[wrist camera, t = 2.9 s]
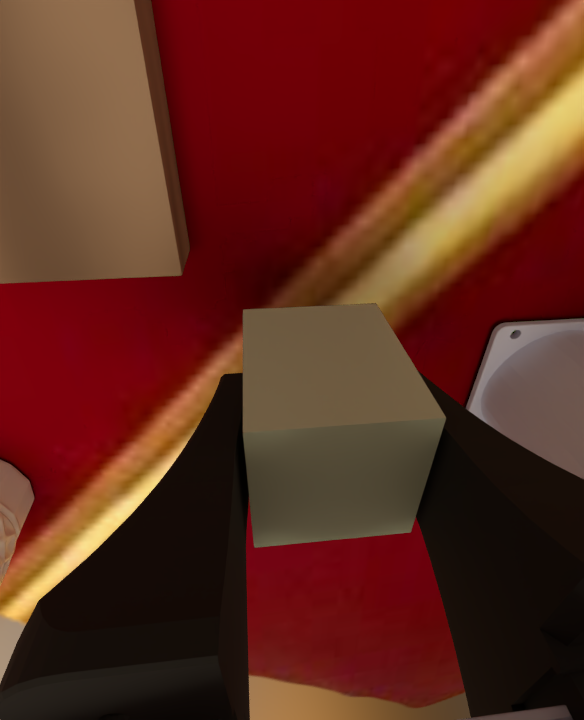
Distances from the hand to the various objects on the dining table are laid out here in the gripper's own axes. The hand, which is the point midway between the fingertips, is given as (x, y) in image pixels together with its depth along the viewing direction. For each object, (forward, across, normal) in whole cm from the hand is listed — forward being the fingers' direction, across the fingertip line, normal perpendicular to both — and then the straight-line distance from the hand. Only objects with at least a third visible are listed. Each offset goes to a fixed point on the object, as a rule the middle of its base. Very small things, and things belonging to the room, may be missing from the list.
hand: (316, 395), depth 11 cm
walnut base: (+7, +8, -6) cm, 12 cm away
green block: (+2, 0, 0) cm, 2 cm away
